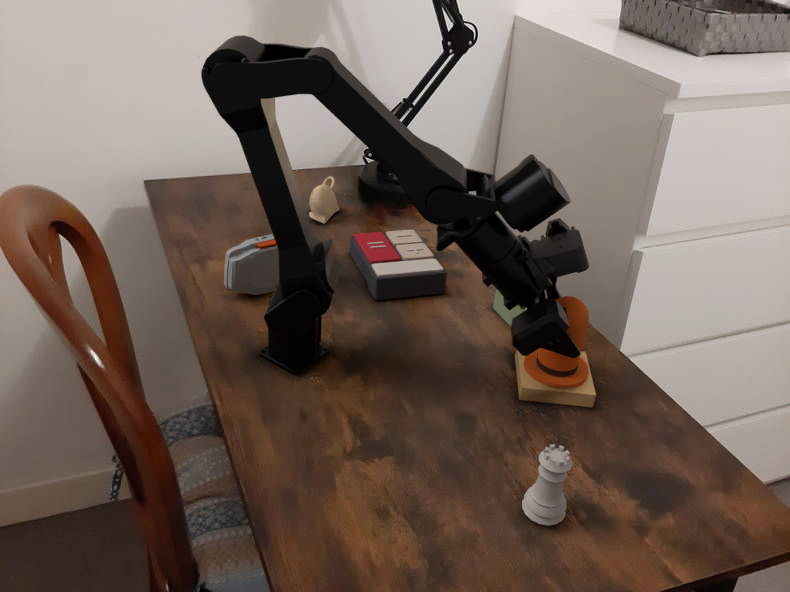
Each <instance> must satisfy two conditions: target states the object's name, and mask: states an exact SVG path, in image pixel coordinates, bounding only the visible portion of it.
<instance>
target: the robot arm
mask: <svg viewBox="0 0 790 592" xmlns="http://www.w3.org/2000/svg"><path fill="white" fill-rule="evenodd" d="M200 77H201V82H202V86H203V88H204V90H205V92H206V94H207V95H208V97H209V99H210V101H211V102H212V105H213V106H214V108H215V109H216V111H217V113H218V116H219V117H220V118H221V119H223V121H224V122H225V123H226V124H227V125H228V126H229V128H231V130H233V132H234V133H235V134H236V137H237V138H238V140H239V143H240V146H241V148H242V152H243V155H244V157H245V160H246V162H247V166H248V168H249V171H250V174H251V177H252V179H253V182H254V185H255V188H256V191H257V193H258V196H259V199H260V202H261V204H262V205H261V206H262V208H263V211H264V213H265V216H266V219H267V221H268V225H269V227H270V230H271V234H273V236H274V239H275V241H276V244H277V247H278V252H279V281H278V284H277V286H276V289H275V291H274V292H272V293H273V294H272V296H271V299H270V300H269V303H268V306H267V308H266V311H265V313H264V315H263V319H264V322H265V324H266V326H267V342H268V345H267V346H266V347H264V348H262V349H261V350H259V356H261V357H262V358H263V359H266V360H267V361H269V362H270V363H272V364H274V365H276V366H278V367H280V368H281V369H283V370H285V371H287V372H289V373H291V374H293V375H299V374H300V373H302V372H304V371H305V370H307V369H308V368H309V367H311V366H313V365H314V364H315V363H316V362H318V361H320V360H321V359H322V358H324V357H326V356H327V355H329V353H330V349H329V348H328V347H326V346H324V345H322V344H321V343H322V326H323V325H322V323H323V322H322V321H323V320H322V319H323V318H322V317H323V315H325V314H326V313H327V312H328V310H329V309H330V307H331V304H332V300H333V298H334V294H335V291H336V288H337V284H338V280H339V277H340V273H341V270H342V266H343V264H342V263H341V262H340V260H339V259H338V257H337V254H336V251H335V243H334V240H333V239H332V238H330V239H327V240H325V241H322V240H321V239H320V238H319V237H318V236H317V234H315V233H314V231H313V228H312V225H311V222H310V219H309V215H308V213H307V210H306V207H305V204H304V201H303V198H302V195H301V191H300V188H299V185H298V182H297V179H296V177H295V173H294V171H293V168H292V164H291V161H290V158H289V155H288V152H287V149H286V146H285V143H284V139H283V135H282V134H281V130H280V128H279V124H278V122H277V121H278V120H277V117H276V116H277V115H276V114H277V113H276V112H277V111H276V98H282V97H289V96H295V95H296V96H297V95H312V96H313V97H314V98H315V99H316V100H317V101H318V102H319V103H321V105H323V106H324V108H326V109H327V110H328V112H330V113H331V114H332V115H333V116H334V117H335V118H336V119H337V120H338V121H340V122H341V124H343V125H344V126H345V127H346V128H347V129H348V130H349V131H350V132H351V133H352V134H353V135H354V136H355V137H356V138H357V139H359V141H360V142H362V143H363V145H365V146H366V147H367V148H368V149H369V150H370V151H371V152H372V153H373V154H374V155H375V156H376V157H377V158H379V160H381V161H382V162H383V163H384V165H386V166H387V167H388V168H389V170H390V171H391V172H392V173H393V174H394V176H395V178H396V179H397V181H398V184H399V185H400V187H401V189H402V190H403V193H404V194H405V196H406V197H407V199H408V200H409V201H410V203H411V204H412V206H413V207H414V208H415V210H417V212H418V213H419V215H420V216H421V217H422V218H423V219H424V220H425V221H427V222H428V223H430V224H432V225H435V226H436V233H437V234H436V244H435V250H436V251H437V252H443V251H444V250H445V249H447V248H449V246H451V245H452V244H454V243H455V245H456V246H457V247H458V248H459V249H460V250H461V251H462V252H463V253H464V254H465V256H466V257H467V258H468V259H469V260H470V261H471V262H472V263H473V265H474V266H475V267H476V268H477V269H478V270H479V272H480V273H481V281H482V283H483V284H484V285H485V286H486V287H487V288H489V287H490V286H491V285H492V286H493V287H494V288H495V290H496V289H497V290H498V291H499V292H500V293H501V295H502V296H503V300H504V306H505V307H506V308H507V309H508V310H509V311H510V310H511V309H513V308H514V307H516V306H517V305H519V306H520V308H521V309H522V310H524V309H525V308H527V310H525V311H524V312H522V313H521V314H519V315H517V316H516V317H514V318H513V319H512V324H511V326H510V335H511V345H512V347H513V348H515V350H516V349H517V350H518V352H519V353H520V354H521V355H522V356H528V355H529V354H531V353H533V352H534V351H536V350H537V349H539V348H542V349H546V350H549V351H552V352H555V353H558V354H561V355H564V356H567V357H570V358H573V359H574V358H576V357H578V356H580V354H581V353H580V351H579V349H578V347H577V345H576V344H575V342H574V340H573V338H572V337H571V335H570V333H569V332H568V330H567V329H568V328H569V324H568V315H567V310H566V306H565V307H562V306H561V305H560V303H559V302H558V301H557V300H556V299H557V298H560V297H562V295H561V293H560V291H559V288H558V287H557V283H558V278H561V277H564V276H567V275H571V274H574V273H575V274H576V273H577V274H581V273H583V272H585V271H587V270H588V269H589V268H590V263H589V259H588V256H587V252H586V249H585V246H584V242H583V238H582V236H581V232H580V230H579V229H576V227H575V226H574V225H573V226H569V225H568V224H567V223H566V222H565V221H564V220H562V218H561V217H558V218H554V219H551V220H549V221H548V222H547V225H546V230H545V235H544V234H542V235H540V239H532V240H531V241H530V240H529V239H528V237H527V236H525V235H521V234H522V233H524V232H530V231H531V230H533V229H534V228H536V227H537V226H539V225H540V224H542V223H543V222H545V221H546V220H547V219H549V218H550V217H552V216H553V215H555V214H556V213H558V212H559V211H561V210H562V209H564V208H565V207H567V206H568V205H570V204H571V198H570V195H569V193H568V191H567V189H566V188H565V186H564V185H563V183H562V182H561V181H560V179H559V177H558V176H557V175H556V173H555V172H554V171H553V170H552V169H551V167H547V166H546V165H545V164H544V162H542V161H541V160H538V158H537V157H536V156H535V155H534V154H533V153H530V154H529V155H527V156H526V157H525V158H523V159H522V160H521V161H520V162H519V164H518V165H516V166H515V167H514V168H513V169H511V170H510V171H509V172H507V173H506V174H504V175H503V176H501V177H500V178H499V179H496V175H495V174H492V173H489V172H485V171H480V170H475V169H473V168H472V169H471V168H468V167H465V165H463V164H462V162H460V161H459V160H457V159H456V158H454V156H453V157H452V156H451V155H450V154H448V153H447V152H446V151H445V150H443V149H441V148H440V147H438V146H436V145H434V144H431V143H430V142H427V141H425V140H423V139H421V138H420V137H419V136H417V135H416V134H415V133H413V132H412V131H411V130H410V128H408V126H406V125H405V124H404V123H403V122H402V121H401V120H400V119H399V118H398V117H397V116H396V115H395V114H394V113H393V112H392V111H391V110H390V109H389V108H388V107H387V106H386V105H385V104H384V103H383V102H381V100H380V99H378V98H377V97H376V96H375V94H374V93H373V92H372V91H370V90H369V89H368V88H367V87H366V86H365V85H364V83H362V82H361V80H359V79H358V78H357V77H356V76H355V75H354V74H353V73H352V72H351V71H350V70H349V69H348V68H347V67H346V66H345V65H344V64H343V63H342V62H341V60H340V59H339V57H338V56H337V54H336V53H335V52H334V51H332V50H331V49H329V48H328V47H323V46H315V47H313V46H312V47H310V46H309V47H308V46H307V47H305V46H298V45H292V44H286V43H278V42H277V43H276V42H275V43H269V42H268V43H267V42H266V43H262V42H260V41H258V40H257V39H255V38H254V37H251V36H247V35H243V34H242V35H234V36H232V37H230V38H227V39H226V40H225V41H224V42H223V43H221V45H219V46H218V47H217V48H216V49H214V50H213V52H211V54H209V55H208V56H207V57H206V59H205V61H204V63H203V65H202V68H201V71H200ZM471 192H475V194H472V193H471ZM497 212H498V213H497ZM500 216H501V217H502V218H501V217H500ZM512 229H513V230H514V231H516V230H517V231H518V232H519V233H521V234H519V235H516V234H515V233H514V232H513V230H512Z"/></svg>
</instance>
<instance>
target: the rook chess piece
mask: <svg viewBox="0 0 790 592" xmlns="http://www.w3.org/2000/svg"><path fill="white" fill-rule="evenodd" d="M548 446H549V447H548ZM548 446H545V448H544V450H541V452H540V453H539V455H538V461H539V463H540V464H539V466H538V469H537V470H538V476H537V478H536V481H535V483H534V484H532V485H531V486H530V487H529V488H528V489H527V491H526V492H525V493H524V496H523V499H522V501H521V509H522V511H523V513H524V514H525V515H526V517H527V518H528V519H529V520H530V521H531V522H533V523H535V524H537V525H539V526H543V527H545V526H546V527H549V526H555V525H558V524H559V523H561V522H563V520H564V518H565V517H566V515H567V514H566V510H567V499H566V498H565V497H566V496H565V493H564V491H563V487H564V481H565V480H566V479H567V477H568V471H570V470H571V469H572V467H573V460H572V458H571V456H570V455H571V452H570V451H569V450H567V449H566V450H565V446H562V445H561V444H560V445H559V446H558V447H556V444H554V443H553V444H549V445H548Z"/></svg>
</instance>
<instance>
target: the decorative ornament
mask: <svg viewBox="0 0 790 592" xmlns="http://www.w3.org/2000/svg"><path fill="white" fill-rule="evenodd" d="M330 180H331V184H330V185H327V183H328V181H330ZM335 184H336V180H335V177H334V176H332V175H331V176H330V175H329V176H327V177H325V179H324V180H323V182H322V184H320V185H317V186H316V187H314V188H313V190H312V191H311V193H310V196H309V204H308V206H309V210H310V212H309V213H308V218H310V219H312V220H315V221H317V222H318V223H321V224H323V225H325V224H326V223H327V222H328V221H329V219H331V217H332V216H333V215H334V214H335V213H337V212H338V211H340V207H339V205H338V200H337V197H336V195H335V192H334V187H335Z"/></svg>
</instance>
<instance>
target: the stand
mask: <svg viewBox="0 0 790 592" xmlns="http://www.w3.org/2000/svg"><path fill="white" fill-rule="evenodd" d="M580 357H581V358H582V359H583V360H584V361H585V363H586V364H587V366H588V370H589V372H588V377H587V379H586V381H585V382H584V383H583V384H581V385H579V386H577V387H573V388H554V387H550V386H547V385H544V384H542V383H540V382H538V381H536V380H534V379H533V378H532V377H531V376H530V375H529V374H528V373H527V372H526V370H525V368H524V359H525V356H522V355H521V354H520V353H519V352H518V350H517V349H516V348H515V354H514V363H515V373H516V382H517V391H518V392H517V393H518V400H519V401H526V402H535V403H544V404H555V405H565V406H573V407H584V408H594V404H595V401H596V398H597V393H596V388H595V385H594V380H593V376H592V372H591V367H590V364H589V359H588V356H587V352H586V351H582V350H581V354H580Z"/></svg>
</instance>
